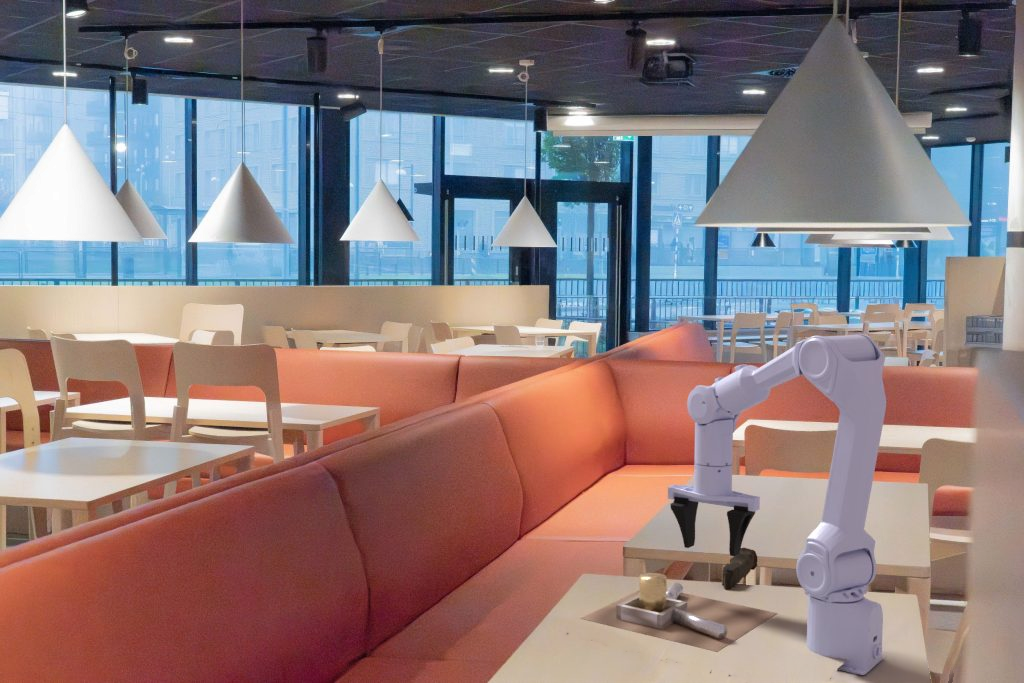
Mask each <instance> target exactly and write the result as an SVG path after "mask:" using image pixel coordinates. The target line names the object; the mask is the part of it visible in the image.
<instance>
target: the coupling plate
mask: <svg viewBox="0 0 1024 683" xmlns="http://www.w3.org/2000/svg"><path fill="white" fill-rule="evenodd" d="M674 609H679V610H682V611H685V612H688V613H691V614H693V615H696V616H699V617H702V618H705V619H708V620H711V621H713V622H716V623H719V624H722V625H725V626H726V627H727V635H726V637H725V638H724V639H722V640H720V639H718V638H715V637H712V636H709V635H707V634H704V633H701V632H699V631H696V630H693V629H690V628H688V627H685V626H682V625H679V624H677V623H674V622H672V619H671V616H672V612H673V610H674ZM777 614H778V612H776V611H775V612H774V611H769V610H764V609H759V608H757V607H756V608H755V607H750V606H746V605H741V604H736V603H731V602H727V601H721V600H719V599H718V600H717V599H713V598H708V597H703V596H698V595H694V594H688V593H684V592H682V594H681V595H680V596H679V597H678V599H677V600H675V599H670V598H666V610H665V611H663V612H661V613H658V612H654V611H649V610H645V609H640V608H639V590H637V591H635V592H633V593H631V594H628V595H626V596H624V597H622V598H620V599H618V600H616V601H614V602H612V603H610V604H608V605H605V606H603V607H601V608H599V609H597V610H595V611H592V612H590V613H589V614H587V615H584V616H582V617H580V619H581V620H584V621H588V622H593V623H596V624H602V625H604V626H609V627H613V628H616V629H617V628H618V629H621V630H626V631H629V632H634V633H637V634H638V633H639V634H643V635H646V636H650V637H655V638H659V639H662V640H666V641H670V642H675V643H679V644H683V645H688V646H691V647H695V648H700V649H704V650H707V651H712V652H716V653H718V652H719V651H721V650H722V649H724V648H726V647H727V646H728V645H731V644H732V643H734V642H735V641H736V640H738V639H740V638H741V637H743V636H744V635H746V634H747V633H749V632H751V631H752V630H754V629H756V628H757V627H758V626H760V625H762V624H763V623H764V622H766V621H768V620H769V619H771V618H773V617H775V616H776V615H777Z"/></svg>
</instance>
